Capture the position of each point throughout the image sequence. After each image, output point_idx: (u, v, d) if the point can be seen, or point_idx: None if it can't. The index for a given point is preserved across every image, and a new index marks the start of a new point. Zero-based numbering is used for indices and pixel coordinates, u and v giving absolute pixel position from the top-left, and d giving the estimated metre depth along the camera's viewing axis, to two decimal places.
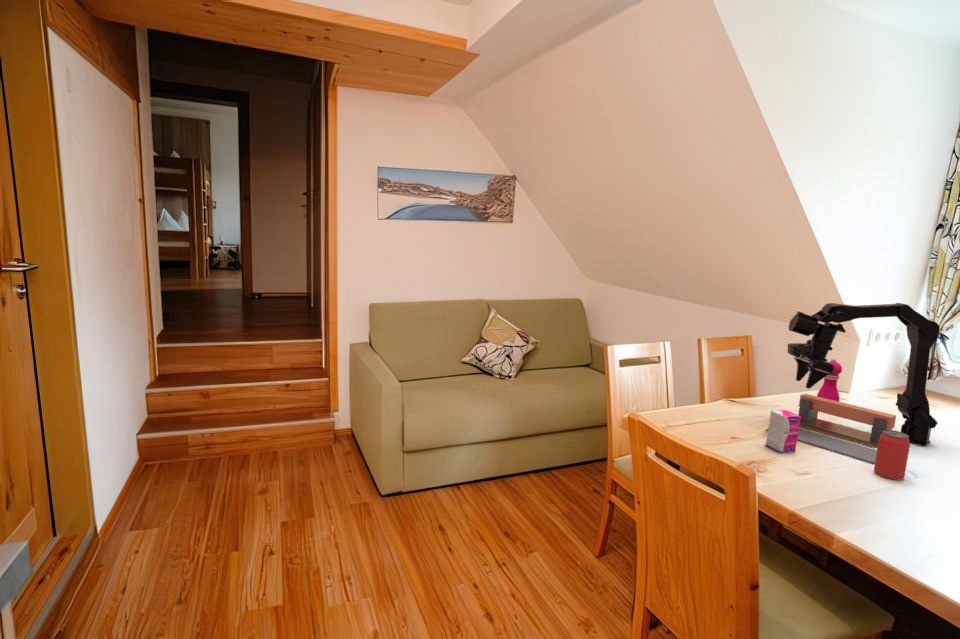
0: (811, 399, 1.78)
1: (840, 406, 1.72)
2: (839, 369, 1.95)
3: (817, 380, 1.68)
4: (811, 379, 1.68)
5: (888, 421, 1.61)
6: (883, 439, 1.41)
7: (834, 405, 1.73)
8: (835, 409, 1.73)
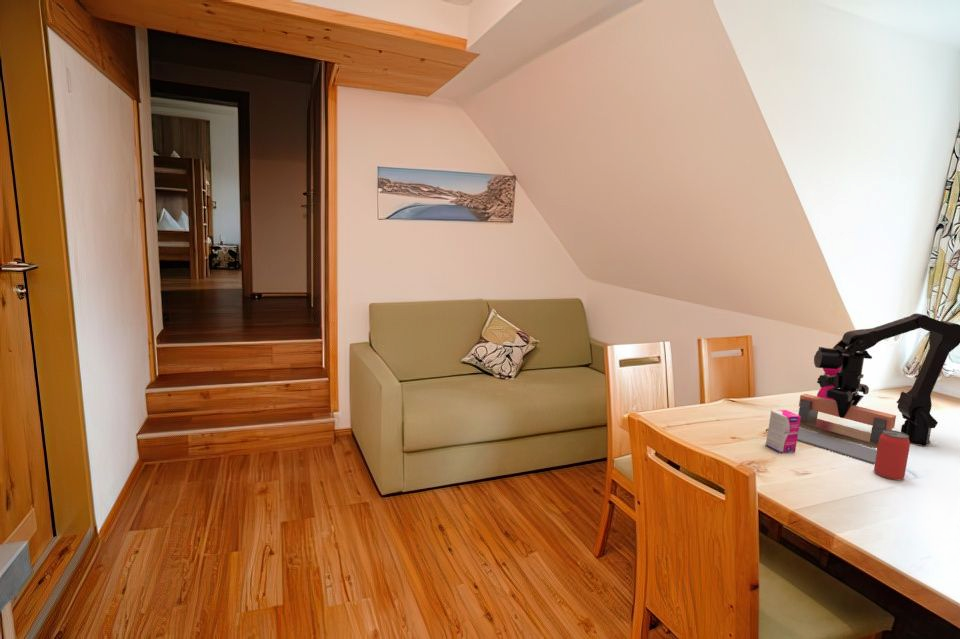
0: (811, 399, 1.78)
1: None
2: (839, 369, 1.95)
3: (845, 409, 1.69)
4: (839, 408, 1.71)
5: (888, 421, 1.61)
6: (883, 439, 1.41)
7: (834, 405, 1.73)
8: (835, 409, 1.73)
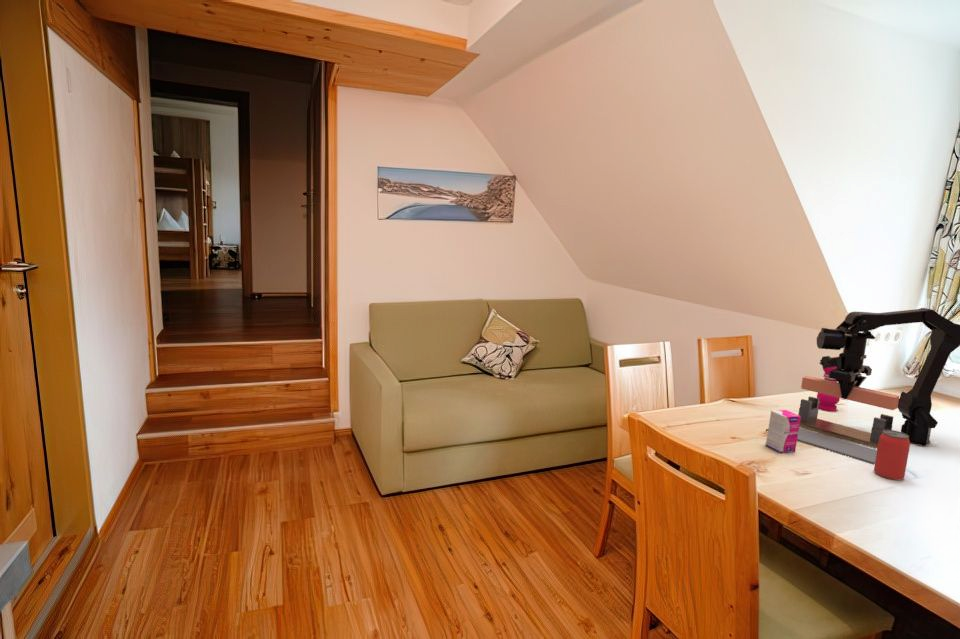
0: (813, 381, 1.77)
1: None
2: None
3: (848, 389, 1.68)
4: (842, 389, 1.70)
5: (891, 401, 1.60)
6: (883, 439, 1.41)
7: (837, 386, 1.72)
8: (837, 390, 1.72)
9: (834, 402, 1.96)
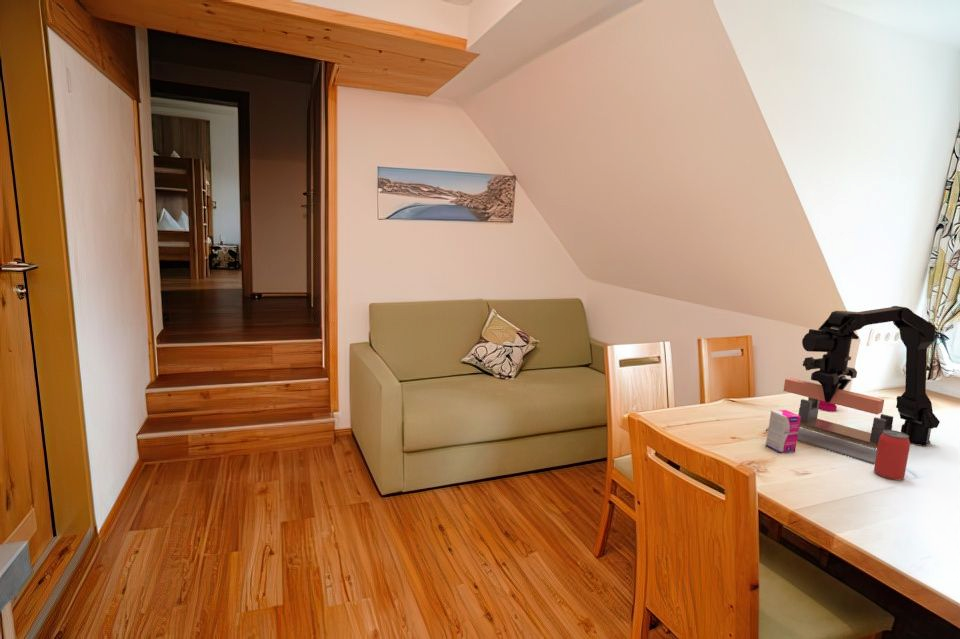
0: (796, 383, 1.70)
1: None
2: None
3: (831, 392, 1.60)
4: (825, 392, 1.62)
5: (875, 405, 1.53)
6: (883, 439, 1.41)
7: (820, 389, 1.64)
8: (821, 393, 1.64)
9: None
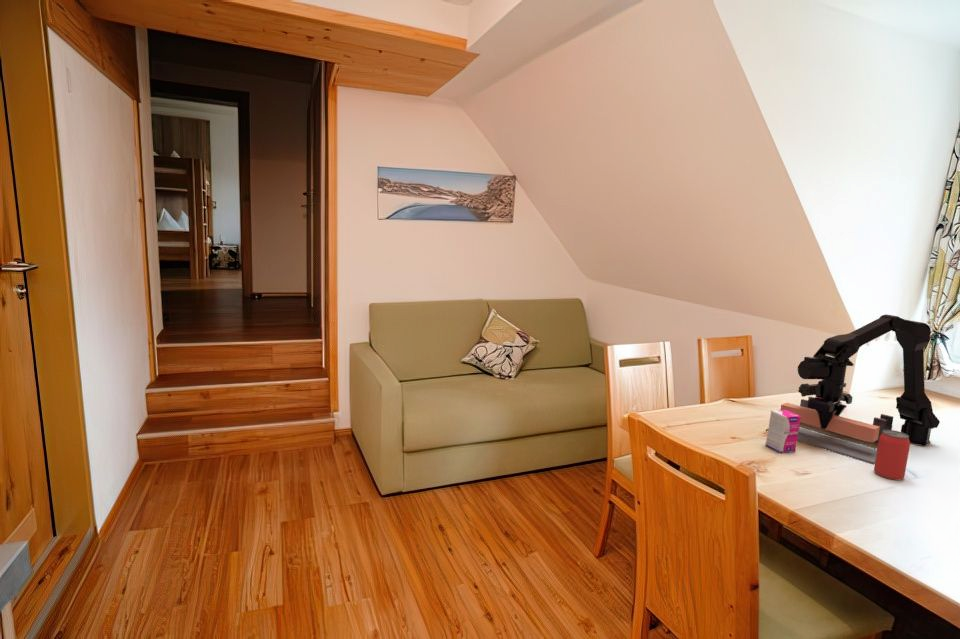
0: (792, 409, 1.70)
1: None
2: None
3: (827, 419, 1.61)
4: (821, 419, 1.62)
5: (871, 433, 1.53)
6: (883, 439, 1.41)
7: (816, 415, 1.65)
8: (816, 419, 1.65)
9: None
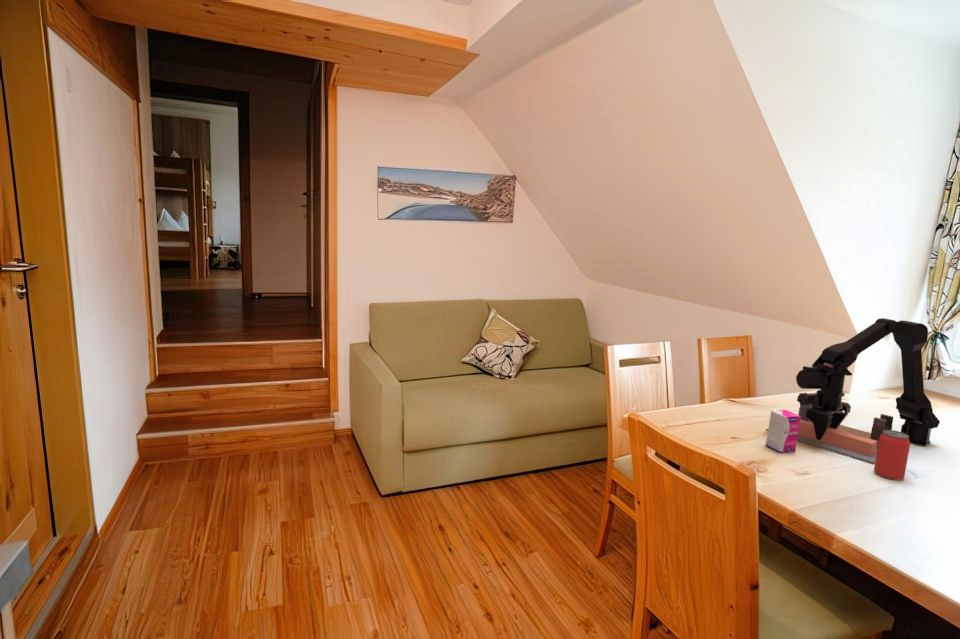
0: None
1: None
2: None
3: (822, 430, 1.60)
4: (816, 429, 1.61)
5: (869, 447, 1.54)
6: (883, 439, 1.41)
7: (814, 429, 1.66)
8: (814, 433, 1.65)
9: None
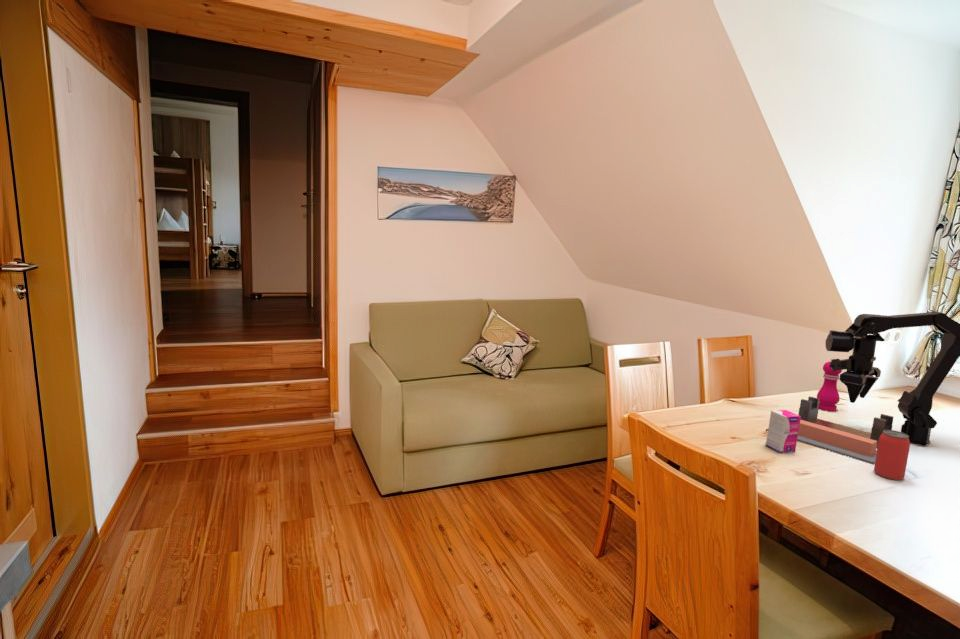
0: None
1: (820, 430, 1.64)
2: None
3: (856, 393, 1.67)
4: (850, 393, 1.69)
5: (869, 447, 1.54)
6: (883, 439, 1.41)
7: (814, 429, 1.66)
8: (814, 433, 1.65)
9: (834, 402, 1.96)
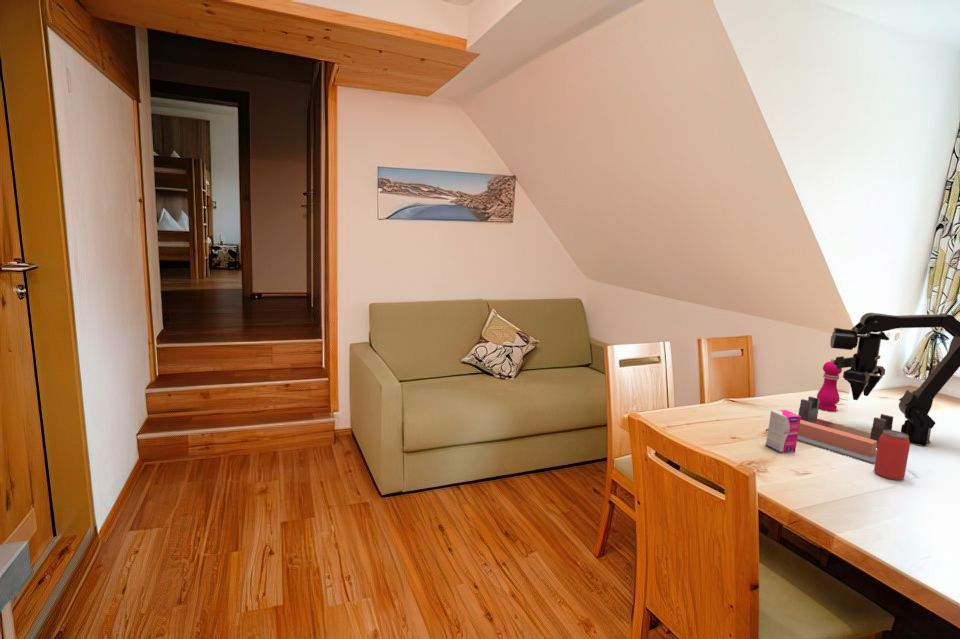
0: None
1: (820, 430, 1.64)
2: (839, 369, 1.95)
3: (860, 391, 1.69)
4: (853, 390, 1.70)
5: (869, 447, 1.54)
6: (883, 439, 1.41)
7: (814, 429, 1.66)
8: (814, 433, 1.65)
9: (834, 402, 1.96)
